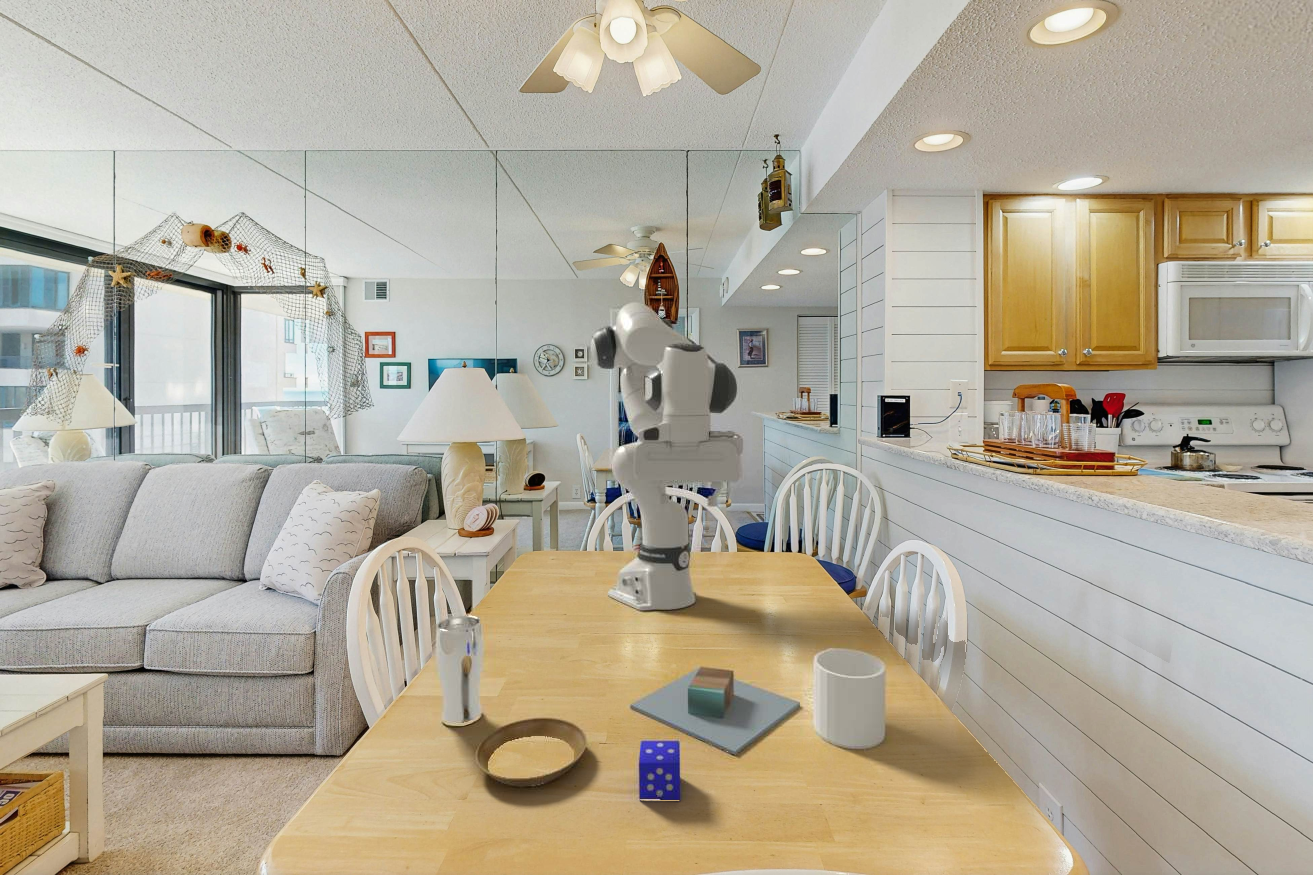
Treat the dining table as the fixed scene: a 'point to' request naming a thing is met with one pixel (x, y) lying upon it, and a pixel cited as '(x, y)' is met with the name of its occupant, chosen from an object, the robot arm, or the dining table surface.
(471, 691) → the silver metal tumbler
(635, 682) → the dining table surface
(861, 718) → the mug
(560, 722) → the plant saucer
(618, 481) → the robot arm
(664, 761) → the die
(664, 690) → the slate mat
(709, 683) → the green and brown block
